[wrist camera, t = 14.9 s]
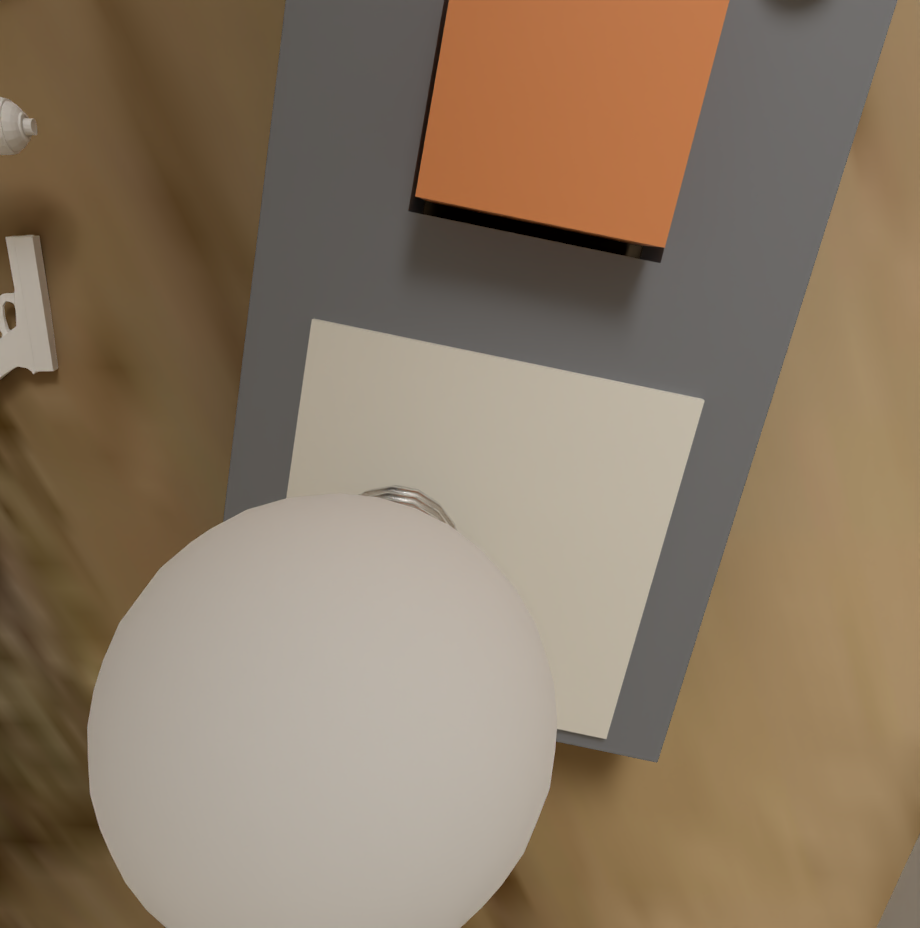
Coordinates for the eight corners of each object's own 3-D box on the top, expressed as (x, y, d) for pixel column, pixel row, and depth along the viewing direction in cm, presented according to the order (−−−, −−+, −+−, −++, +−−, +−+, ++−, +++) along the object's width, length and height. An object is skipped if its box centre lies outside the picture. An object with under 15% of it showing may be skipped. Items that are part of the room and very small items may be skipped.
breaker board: (346, -169, 18) (305, -270, 15) (867, -63, 18) (957, -138, 14) (242, 615, 24) (193, 684, 20) (639, 698, 24) (662, 782, 20)
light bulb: (217, 456, 19) (-149, 741, 9) (475, 348, 18) (420, 522, 7) (337, 687, 21) (153, 1167, 10) (581, 601, 20) (661, 1039, 9)
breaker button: (474, -24, 18) (465, -93, 14) (691, 20, 18) (738, -37, 14) (433, 203, 20) (415, 196, 16) (634, 244, 20) (664, 247, 16)
